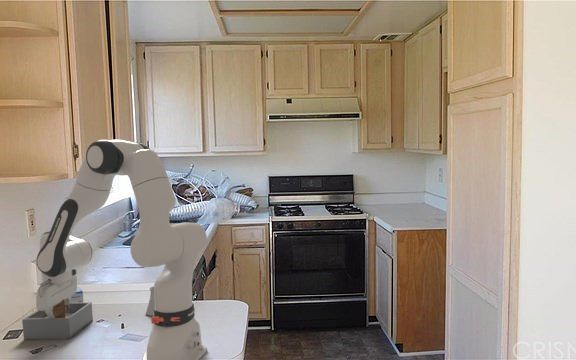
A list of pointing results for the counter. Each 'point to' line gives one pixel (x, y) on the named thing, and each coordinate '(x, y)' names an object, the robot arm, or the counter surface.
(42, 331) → the storage box
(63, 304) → the wooden peg
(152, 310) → the flask
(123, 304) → the counter surface
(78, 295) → the medicine box
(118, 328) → the counter surface
